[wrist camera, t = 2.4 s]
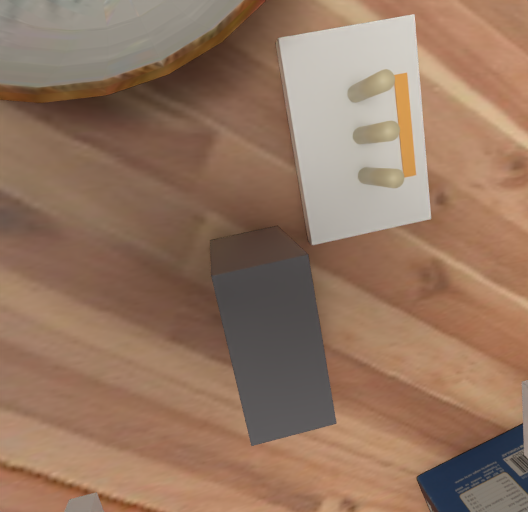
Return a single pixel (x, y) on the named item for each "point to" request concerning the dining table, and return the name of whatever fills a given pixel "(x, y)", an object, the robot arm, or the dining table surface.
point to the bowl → (105, 43)
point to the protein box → (481, 478)
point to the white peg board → (356, 127)
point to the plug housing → (272, 333)
